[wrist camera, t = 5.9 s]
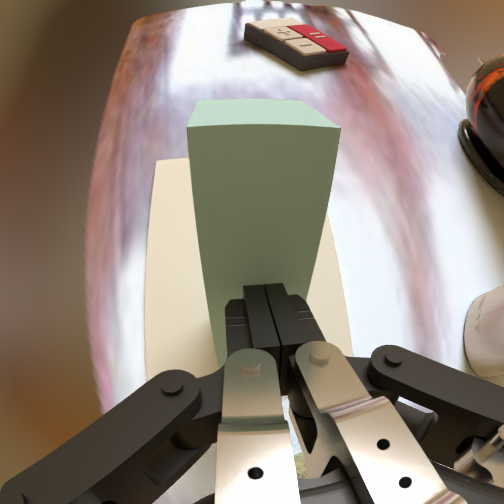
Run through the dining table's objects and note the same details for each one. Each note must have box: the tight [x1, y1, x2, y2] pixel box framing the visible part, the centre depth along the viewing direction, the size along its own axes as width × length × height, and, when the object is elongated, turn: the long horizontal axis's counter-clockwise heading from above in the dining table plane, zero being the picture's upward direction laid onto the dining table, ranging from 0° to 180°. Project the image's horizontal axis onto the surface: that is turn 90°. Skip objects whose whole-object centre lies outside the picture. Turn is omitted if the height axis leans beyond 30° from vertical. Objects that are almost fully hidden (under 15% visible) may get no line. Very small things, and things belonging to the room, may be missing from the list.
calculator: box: [244, 18, 349, 71], centre depth 36 cm, size 11×4×15 cm
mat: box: [145, 158, 353, 382], centre depth 22 cm, size 20×15×1 cm
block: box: [187, 99, 341, 368], centre depth 13 cm, size 4×4×14 cm
